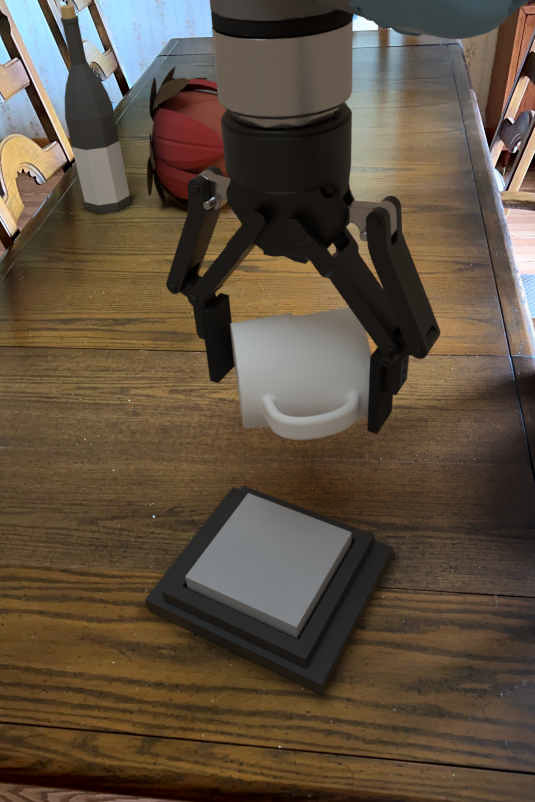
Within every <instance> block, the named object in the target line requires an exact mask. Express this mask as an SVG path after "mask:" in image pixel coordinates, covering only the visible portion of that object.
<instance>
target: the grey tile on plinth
mask: <svg viewBox="0 0 535 802" xmlns="http://www.w3.org/2000/svg"><path fill="white" fill-rule="evenodd" d="M351 539H352V532H349V531H347V530H344V529H341V528H339V527H336V526H333V525H331V524H328V523H326V522H323V521H320V520H318V519H315V518H312V517H310V516H307V515H305V514H302V513H299V512H297V511H294V510H291V509H289V508H286V507H283V506H281V505H278V504H276V503H273V502H270V501H268V500H265V499H262V498H260V497H257V496H254V495H252V494H249V493H248V494H247V495H246V497H245V498H244V499H243V501H242V502H241V503H240V505H239V506H238V507H237V509H236V510H235V511H234V513H233V514H232V515H231V517H230V518H229V519H228V521H227V522H226V523H225V525H224V526H223V527H222V529H221V530H220V531H219V533H218V534H217V535H216V537H215V538H214V539H213V541H212V542H211V543H210V545H209V546H208V547H207V549H206V550H205V551H204V553H203V554H202V555H201V556H200V558H199V559H198V560H197V562H196V563H195V564H194V566H193V567H192V568H191V570H190V571H189V572H188V574H187V575H186V576H185V578H186V582H187V587H188V588H189V589H191V590H193V591H195V592H197V593H200V594H202V595H204V596H206V597H208V598H210V599H213V600H215V601H217V602H219V603H221V604H223V605H226V606H228V607H230V608H232V609H234V610H237V611H239V612H241V613H243V614H245V615H247V616H250V617H252V618H254V619H256V620H258V621H260V622H263V623H265V624H267V625H269V626H271V627H273V628H276V629H278V630H280V631H282V632H284V633H287V634H289V635H291V636H293V637H295V638H298V636H299V635H300V633H301V631H302V629H303V628H304V626H305V624H306V622H307V621H308V619H309V617H310V616H311V614H312V612H313V610H314V609H315V607H316V605H317V603H318V602H319V600H320V598H321V596H322V595H323V593H324V591H325V589H326V588H327V586H328V584H329V582H330V581H331V579H332V577H333V575H334V574H335V572H336V570H337V568H338V567H339V565H340V563H341V561H342V560H343V558H344V556H345V554H346V553H347V551H348V549H349V547H350V546H351Z"/></svg>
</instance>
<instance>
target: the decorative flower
mask: <svg viewBox="0 0 535 802" xmlns="http://www.w3.org/2000/svg"><path fill="white" fill-rule="evenodd" d="M175 71H176V66H174V67H173V68H172V69H170V71H168V73H167V74H166V75H165V77H164V79H163V80H162V82H161V85H160V87H159V88H158V89H157V80H156V77H153V79H152V84H151V87H150V93H149V94H150V95H149V106H148V107H149V116H150V118H151V121H152V122H153V124H152V131H151V133H149V143H148V144H149V156H148V159H147V162H146V163H147V164H146V186H147V194H148V197H151V195H152V193H153V182H154V187H155V190H156V193H157V195H158V197H159V199H160V201H161V203H162V204H163V205H164V206H165V207H168V205H167V204H168V203H167V198H166V195H165V193H166V194H167V195H168V196H169V197H170V198H171V199H172V200H173V201H174V202H175V203H177V204H178V205H179V206H181V207H182V208H184V209H185V210H187V211H188V210H189V208H187V207H186V206H185V205H184V204H183V203H182V202H181V201H180V200H179V199H178V198H180V199H182V200H186V201H188V187H187V186H188V182H189V180H191V179H193V178H194V177H196V176H197V175H198V174H200V173H202V172H203V171H205V170H206V169H208V168H209V167H211V166H217V167H218V168H219V169H220V170H221V171H222V173H223V176H224V177H227V178H229V176H228V174H227V172H226V168H225V158H224V148H223V138H222V127H221V118H222V116H223V115H224V113H225V111H226V109H225V108H224V107H223V106H222V105H221V104H220V102H219V101H218V92H217V81H212V80H208V77H194V78H186V77H178V78H175V77H174V74H175ZM209 91H210V92H209ZM215 92H216V93H215Z"/></svg>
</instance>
